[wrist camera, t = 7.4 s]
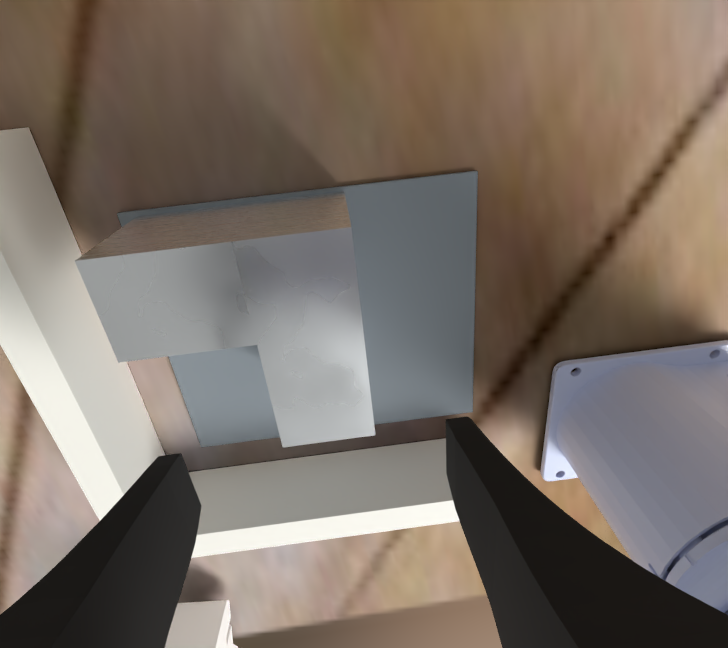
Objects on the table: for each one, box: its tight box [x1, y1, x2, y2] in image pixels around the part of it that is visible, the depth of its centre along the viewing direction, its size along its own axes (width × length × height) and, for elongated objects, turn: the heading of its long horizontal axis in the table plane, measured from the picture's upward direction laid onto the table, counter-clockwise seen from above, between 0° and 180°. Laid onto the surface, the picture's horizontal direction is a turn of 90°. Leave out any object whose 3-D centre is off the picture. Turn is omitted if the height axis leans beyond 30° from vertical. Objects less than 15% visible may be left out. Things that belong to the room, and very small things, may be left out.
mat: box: [117, 171, 478, 447], centre depth 20 cm, size 14×12×1 cm
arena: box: [0, 127, 460, 558], centre depth 19 cm, size 18×18×4 cm
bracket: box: [75, 191, 375, 447], centre depth 17 cm, size 8×8×5 cm
